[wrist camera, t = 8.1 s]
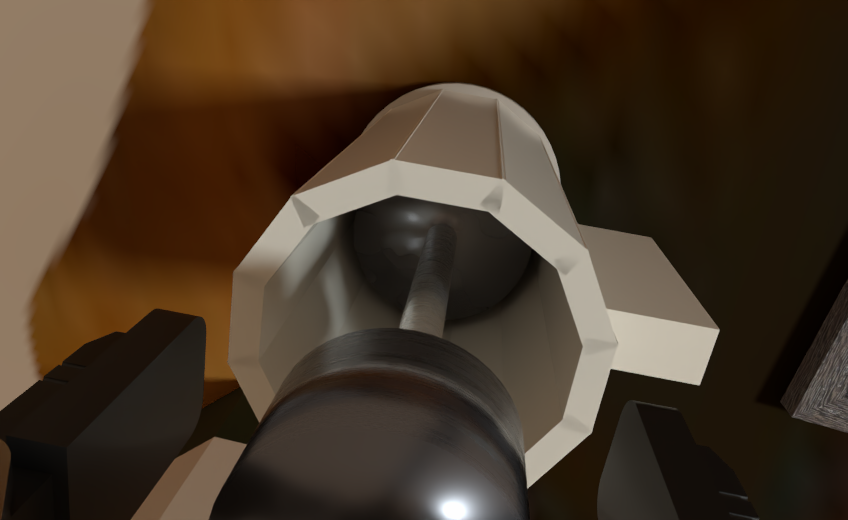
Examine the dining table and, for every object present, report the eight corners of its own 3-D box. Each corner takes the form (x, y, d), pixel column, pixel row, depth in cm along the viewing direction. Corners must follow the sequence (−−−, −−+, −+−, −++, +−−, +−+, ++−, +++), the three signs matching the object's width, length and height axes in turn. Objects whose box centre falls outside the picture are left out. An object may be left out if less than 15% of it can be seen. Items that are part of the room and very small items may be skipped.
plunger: (549, 162, 18) (655, 423, 6) (511, 325, 20) (539, 761, 8) (369, 130, 19) (150, 326, 7) (347, 295, 20) (146, 678, 9)
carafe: (649, 114, 23) (826, 219, 11) (593, 312, 26) (685, 575, 14) (364, 64, 23) (226, 111, 11) (339, 265, 26) (206, 479, 14)
